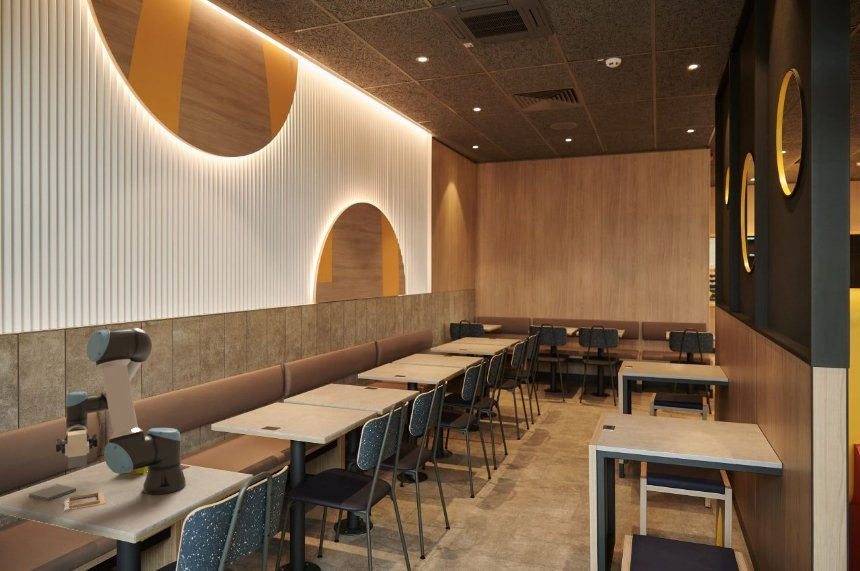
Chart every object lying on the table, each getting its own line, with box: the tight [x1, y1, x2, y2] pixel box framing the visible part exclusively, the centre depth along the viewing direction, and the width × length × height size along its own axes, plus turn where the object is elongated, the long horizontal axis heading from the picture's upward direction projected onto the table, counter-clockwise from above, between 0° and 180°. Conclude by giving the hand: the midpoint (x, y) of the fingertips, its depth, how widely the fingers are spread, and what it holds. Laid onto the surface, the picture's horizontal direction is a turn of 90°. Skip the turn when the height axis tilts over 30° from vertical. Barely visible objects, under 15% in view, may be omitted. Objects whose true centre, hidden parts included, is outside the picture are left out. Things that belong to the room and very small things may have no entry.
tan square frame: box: [68, 491, 106, 510], centre depth 216 cm, size 13×13×1 cm
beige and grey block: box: [67, 430, 88, 469], centre depth 217 cm, size 6×6×12 cm
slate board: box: [28, 484, 77, 501], centre depth 224 cm, size 11×11×1 cm
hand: (77, 450), depth 213 cm, fingers closed on beige and grey block, 6 cm apart
